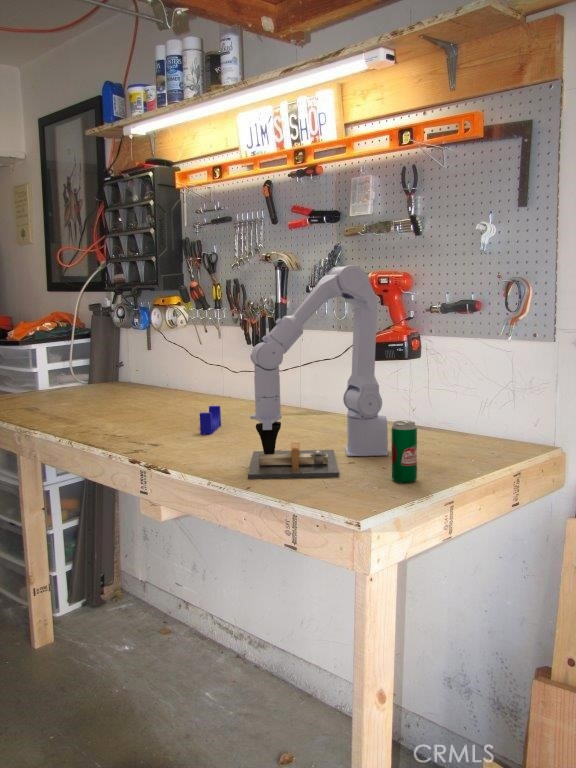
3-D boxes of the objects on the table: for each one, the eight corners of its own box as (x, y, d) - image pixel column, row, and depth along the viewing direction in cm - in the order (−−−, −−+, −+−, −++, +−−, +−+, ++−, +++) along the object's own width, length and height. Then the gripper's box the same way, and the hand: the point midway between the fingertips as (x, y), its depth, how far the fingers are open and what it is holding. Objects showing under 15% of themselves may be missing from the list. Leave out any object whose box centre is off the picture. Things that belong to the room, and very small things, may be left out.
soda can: (404, 485, 135) (404, 426, 134) (386, 480, 139) (386, 422, 138) (422, 481, 138) (422, 422, 136) (404, 475, 142) (404, 419, 140)
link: (327, 460, 151) (327, 452, 151) (327, 464, 148) (327, 457, 148) (259, 461, 152) (259, 454, 151) (258, 465, 148) (258, 458, 148)
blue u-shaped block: (205, 426, 199) (205, 405, 198) (221, 426, 199) (220, 405, 198) (195, 435, 188) (194, 413, 187) (211, 435, 187) (210, 413, 186)
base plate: (333, 453, 162) (333, 431, 161) (339, 477, 142) (338, 451, 142) (253, 455, 162) (252, 432, 162) (247, 479, 143) (247, 453, 142)
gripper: (251, 391, 161) (253, 447, 163) (247, 401, 147) (249, 463, 149) (281, 390, 161) (283, 446, 163) (280, 400, 147) (282, 462, 149)
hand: (269, 454), depth 156 cm, fingers closed
